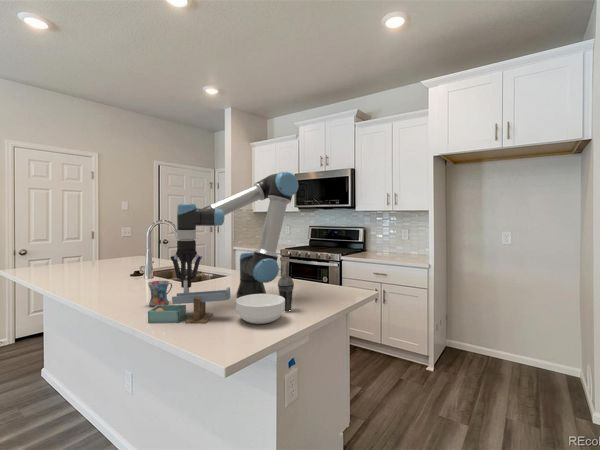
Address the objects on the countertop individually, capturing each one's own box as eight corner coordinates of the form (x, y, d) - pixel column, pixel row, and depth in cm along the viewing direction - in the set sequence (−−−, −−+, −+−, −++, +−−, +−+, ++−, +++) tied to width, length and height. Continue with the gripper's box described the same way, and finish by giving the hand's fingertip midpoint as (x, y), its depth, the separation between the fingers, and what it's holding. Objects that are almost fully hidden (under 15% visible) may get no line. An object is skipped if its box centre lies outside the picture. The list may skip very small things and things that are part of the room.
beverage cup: (296, 309, 148) (296, 265, 148) (290, 313, 141) (290, 267, 141) (281, 307, 151) (281, 264, 150) (274, 311, 144) (275, 266, 143)
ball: (162, 305, 135) (155, 310, 135) (159, 307, 132) (151, 312, 132) (167, 312, 135) (160, 317, 135) (164, 315, 132) (156, 320, 132)
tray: (185, 315, 138) (185, 304, 138) (178, 322, 129) (178, 311, 129) (157, 315, 138) (157, 305, 138) (147, 322, 129) (147, 311, 129)
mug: (156, 308, 148) (156, 285, 147) (143, 305, 152) (143, 283, 152) (178, 302, 158) (178, 280, 158) (165, 299, 163) (165, 278, 162)
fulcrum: (212, 314, 140) (212, 292, 139) (206, 323, 129) (206, 299, 128) (193, 314, 139) (193, 292, 139) (185, 323, 128) (185, 299, 128)
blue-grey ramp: (233, 293, 144) (232, 283, 144) (227, 301, 131) (227, 290, 131) (183, 296, 143) (182, 287, 143) (172, 305, 130) (171, 294, 130)
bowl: (264, 332, 119) (264, 309, 119) (225, 322, 130) (225, 301, 129) (294, 318, 136) (294, 297, 136) (257, 310, 146) (257, 291, 146)
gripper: (204, 239, 143) (204, 293, 144) (174, 239, 143) (174, 292, 143) (199, 240, 136) (199, 297, 136) (167, 240, 135) (167, 297, 136)
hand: (186, 295), depth 140 cm, fingers closed
